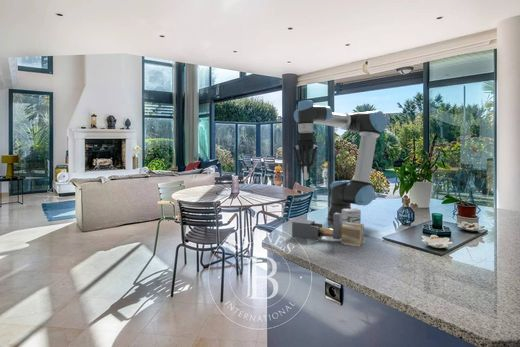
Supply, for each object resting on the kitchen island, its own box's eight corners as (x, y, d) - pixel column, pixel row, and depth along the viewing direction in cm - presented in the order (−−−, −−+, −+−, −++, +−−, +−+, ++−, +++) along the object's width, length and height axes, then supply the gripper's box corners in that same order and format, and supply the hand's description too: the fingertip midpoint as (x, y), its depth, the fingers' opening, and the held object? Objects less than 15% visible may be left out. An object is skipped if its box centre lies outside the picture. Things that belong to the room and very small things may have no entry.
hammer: (314, 233, 163) (314, 210, 162) (351, 238, 155) (352, 214, 154) (311, 235, 159) (311, 212, 158) (349, 240, 151) (349, 215, 150)
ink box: (345, 233, 168) (345, 210, 167) (340, 231, 173) (341, 208, 172) (360, 232, 170) (361, 209, 169) (355, 230, 175) (356, 208, 174)
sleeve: (297, 233, 169) (297, 219, 168) (322, 236, 163) (322, 221, 162) (292, 237, 163) (292, 221, 162) (317, 240, 157) (317, 224, 156)
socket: (346, 239, 158) (346, 222, 157) (363, 242, 154) (363, 223, 153) (341, 244, 151) (341, 225, 150) (359, 246, 147) (359, 227, 146)
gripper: (290, 132, 165) (291, 180, 167) (316, 131, 159) (316, 181, 161) (296, 132, 171) (296, 178, 174) (320, 132, 165) (320, 179, 168)
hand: (306, 179), depth 167 cm, fingers closed
